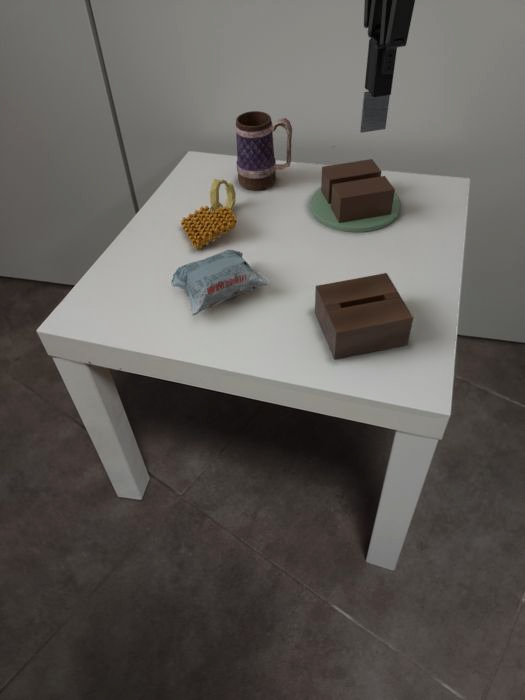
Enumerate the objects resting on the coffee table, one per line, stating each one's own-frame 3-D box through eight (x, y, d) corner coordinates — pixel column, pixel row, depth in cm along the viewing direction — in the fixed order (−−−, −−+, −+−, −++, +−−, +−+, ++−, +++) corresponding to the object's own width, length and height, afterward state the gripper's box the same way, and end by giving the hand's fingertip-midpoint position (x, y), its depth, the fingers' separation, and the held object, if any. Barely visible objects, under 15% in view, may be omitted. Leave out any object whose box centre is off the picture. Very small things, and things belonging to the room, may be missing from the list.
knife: (387, 131, 83) (400, 38, 73) (362, 135, 82) (371, 42, 73) (382, 125, 84) (394, 33, 75) (358, 129, 84) (366, 37, 74)
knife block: (407, 345, 71) (413, 317, 67) (334, 359, 70) (336, 332, 66) (382, 300, 77) (386, 272, 73) (314, 312, 76) (315, 285, 72)
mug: (232, 188, 98) (226, 123, 90) (245, 168, 103) (241, 105, 94) (286, 196, 96) (285, 130, 87) (297, 176, 100) (297, 111, 92)
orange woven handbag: (215, 232, 81) (250, 164, 88) (159, 231, 86) (196, 166, 92) (231, 263, 86) (263, 196, 93) (178, 260, 91) (212, 197, 97)
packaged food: (269, 295, 78) (267, 268, 75) (194, 325, 75) (189, 298, 71) (242, 263, 84) (239, 237, 80) (171, 290, 80) (165, 263, 77)
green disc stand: (413, 223, 89) (419, 194, 85) (325, 238, 87) (326, 209, 83) (380, 177, 99) (383, 149, 95) (300, 190, 97) (300, 162, 93)
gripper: (348, -128, 66) (336, 74, 83) (395, -108, 56) (371, 117, 74) (406, -133, 67) (383, 68, 84) (463, -114, 57) (423, 109, 74)
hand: (377, 90), depth 79 cm, fingers closed on knife, 2 cm apart
